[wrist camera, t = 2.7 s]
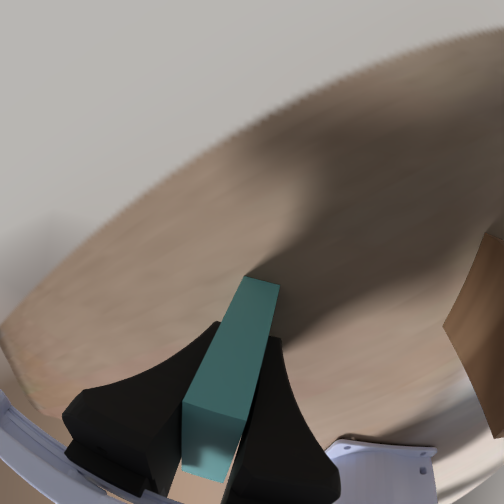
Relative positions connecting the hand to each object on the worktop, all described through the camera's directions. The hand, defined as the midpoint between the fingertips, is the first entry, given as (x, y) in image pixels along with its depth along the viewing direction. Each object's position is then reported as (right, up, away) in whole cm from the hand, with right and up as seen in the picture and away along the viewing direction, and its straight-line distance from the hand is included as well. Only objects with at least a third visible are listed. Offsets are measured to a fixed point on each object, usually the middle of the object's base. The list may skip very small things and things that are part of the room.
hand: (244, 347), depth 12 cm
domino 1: (0, +1, +2) cm, 2 cm away
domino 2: (+11, +2, -1) cm, 11 cm away
